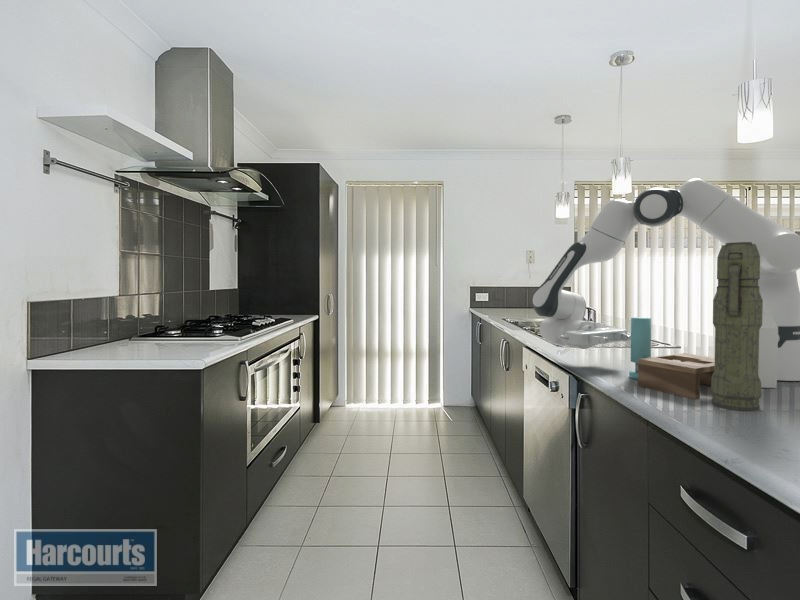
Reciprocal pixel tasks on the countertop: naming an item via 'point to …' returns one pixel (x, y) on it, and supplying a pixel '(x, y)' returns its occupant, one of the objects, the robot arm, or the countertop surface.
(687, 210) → the robot arm
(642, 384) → the keyhole bridge
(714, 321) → the thermos
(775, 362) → the milk carton
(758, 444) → the countertop surface
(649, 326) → the teal necked cylinder
